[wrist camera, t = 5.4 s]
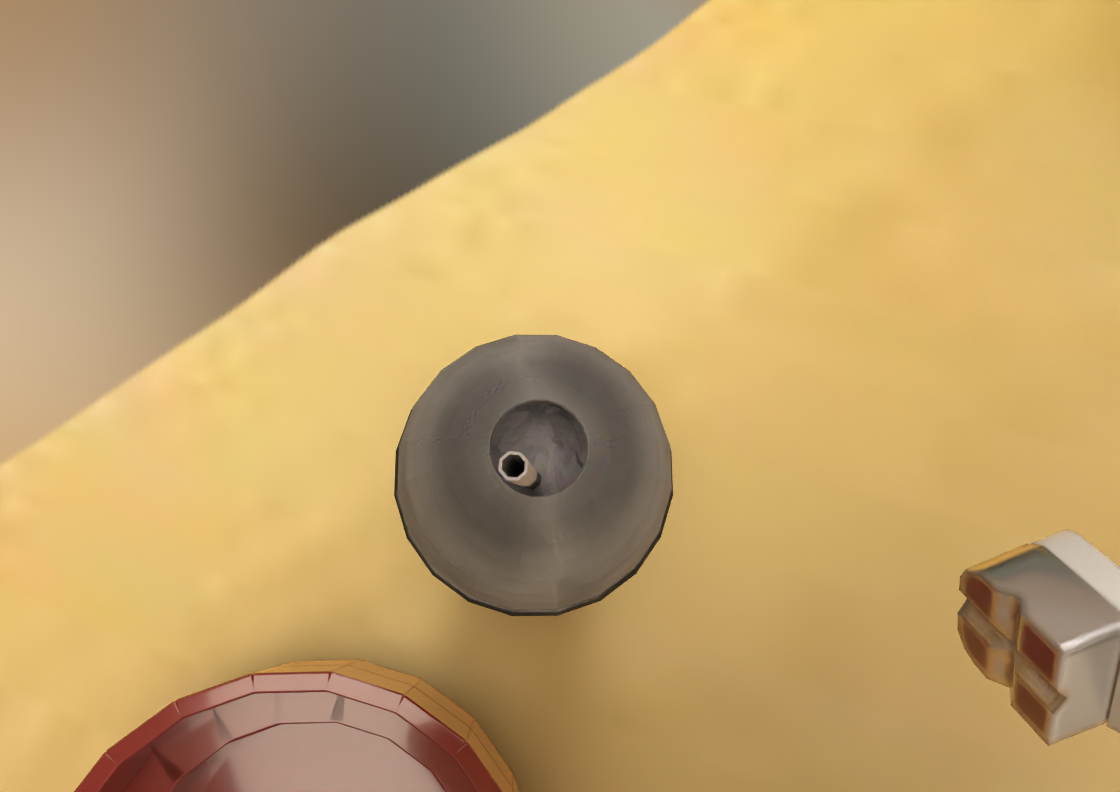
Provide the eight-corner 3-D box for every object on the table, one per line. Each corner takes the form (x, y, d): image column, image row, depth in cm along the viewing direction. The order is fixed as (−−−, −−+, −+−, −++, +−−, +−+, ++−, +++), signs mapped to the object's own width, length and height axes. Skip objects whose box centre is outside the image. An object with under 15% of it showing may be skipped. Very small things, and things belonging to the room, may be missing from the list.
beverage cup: (652, 473, 35) (830, 313, 15) (570, 645, 33) (650, 712, 14) (488, 390, 35) (455, 131, 16) (398, 556, 34) (238, 497, 14)
